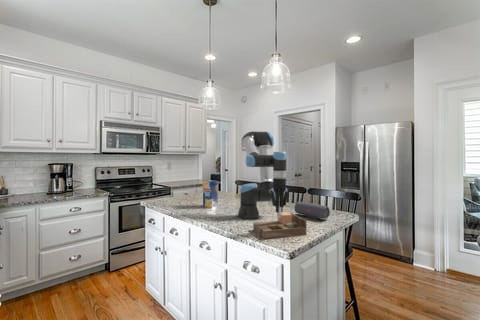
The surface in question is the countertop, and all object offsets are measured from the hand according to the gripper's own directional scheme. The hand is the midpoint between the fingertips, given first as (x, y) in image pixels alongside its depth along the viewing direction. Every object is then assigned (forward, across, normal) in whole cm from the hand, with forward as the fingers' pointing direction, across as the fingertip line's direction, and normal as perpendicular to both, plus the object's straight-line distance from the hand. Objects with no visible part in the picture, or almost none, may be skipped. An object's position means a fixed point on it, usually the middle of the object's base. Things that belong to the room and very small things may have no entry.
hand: (279, 217), depth 140 cm
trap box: (+7, -2, -4) cm, 8 cm away
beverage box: (+7, -28, +73) cm, 78 cm away
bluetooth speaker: (+7, +35, +18) cm, 40 cm away
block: (+3, +4, 0) cm, 5 cm away
